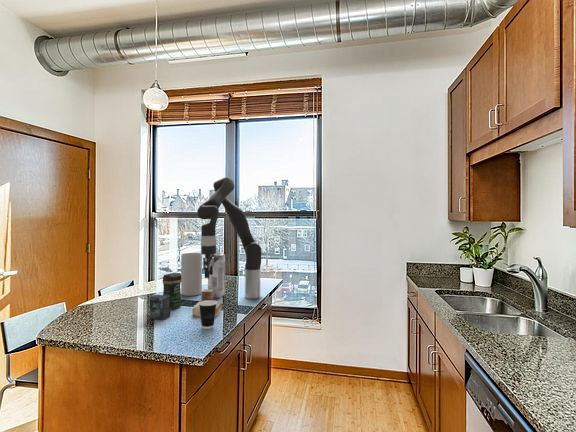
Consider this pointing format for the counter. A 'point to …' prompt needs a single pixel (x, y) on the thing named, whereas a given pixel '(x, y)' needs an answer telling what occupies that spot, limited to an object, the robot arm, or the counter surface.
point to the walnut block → (207, 294)
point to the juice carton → (218, 276)
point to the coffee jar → (172, 289)
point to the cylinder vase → (191, 274)
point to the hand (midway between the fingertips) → (208, 276)
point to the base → (197, 309)
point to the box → (159, 307)
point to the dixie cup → (207, 313)
